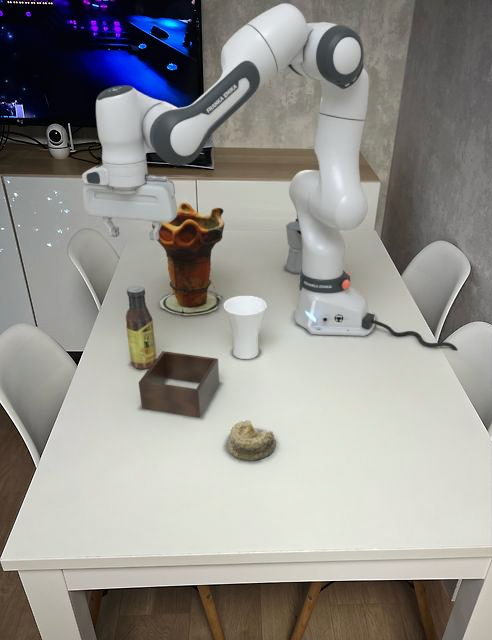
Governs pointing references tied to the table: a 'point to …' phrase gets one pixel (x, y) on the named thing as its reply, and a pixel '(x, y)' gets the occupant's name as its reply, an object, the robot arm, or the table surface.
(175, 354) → the caddy
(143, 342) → the sauce bottle
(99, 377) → the table surface
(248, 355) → the cup
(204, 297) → the decorative vase
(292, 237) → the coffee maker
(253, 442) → the cake
